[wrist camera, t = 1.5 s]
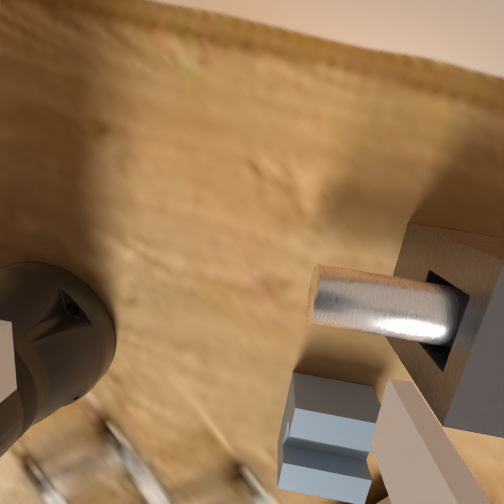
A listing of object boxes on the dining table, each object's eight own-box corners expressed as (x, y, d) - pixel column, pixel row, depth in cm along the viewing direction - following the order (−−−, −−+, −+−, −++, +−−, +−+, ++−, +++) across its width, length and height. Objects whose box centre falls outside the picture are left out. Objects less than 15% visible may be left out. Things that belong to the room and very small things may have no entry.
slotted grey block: (379, 326, 30) (442, 426, 18) (408, 222, 27) (504, 260, 15) (498, 347, 29) (643, 464, 17) (539, 243, 26) (742, 299, 15)
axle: (305, 307, 24) (310, 333, 20) (315, 257, 23) (322, 274, 19) (577, 354, 23) (637, 391, 19) (601, 304, 22) (670, 333, 18)
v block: (277, 443, 34) (277, 488, 29) (293, 371, 32) (295, 408, 27) (351, 457, 33) (363, 505, 29) (372, 386, 31) (389, 425, 26)
